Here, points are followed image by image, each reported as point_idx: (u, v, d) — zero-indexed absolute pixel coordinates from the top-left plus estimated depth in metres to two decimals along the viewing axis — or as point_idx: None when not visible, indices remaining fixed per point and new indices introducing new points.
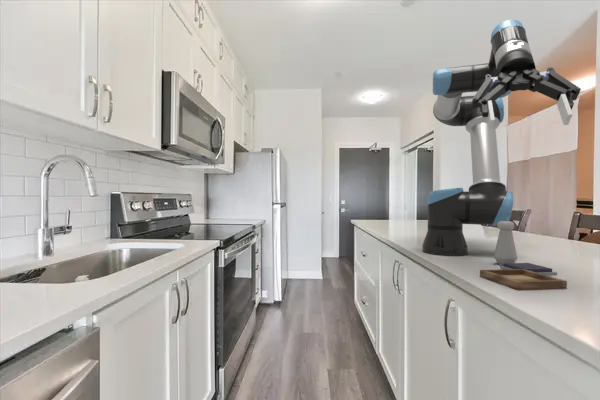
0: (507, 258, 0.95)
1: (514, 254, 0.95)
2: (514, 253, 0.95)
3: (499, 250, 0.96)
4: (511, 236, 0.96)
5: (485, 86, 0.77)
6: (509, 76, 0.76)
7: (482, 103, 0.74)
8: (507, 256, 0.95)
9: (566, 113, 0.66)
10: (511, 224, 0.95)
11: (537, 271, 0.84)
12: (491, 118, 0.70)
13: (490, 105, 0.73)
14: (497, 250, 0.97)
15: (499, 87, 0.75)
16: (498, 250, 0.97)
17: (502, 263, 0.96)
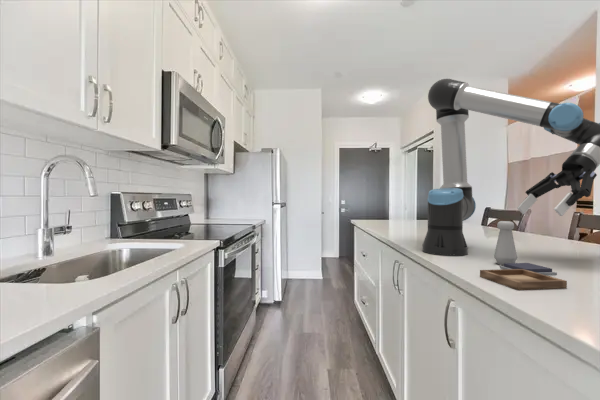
0: (507, 258, 0.95)
1: (514, 254, 0.95)
2: (514, 253, 0.95)
3: (499, 250, 0.96)
4: (511, 236, 0.96)
5: None
6: (578, 182, 0.97)
7: (578, 197, 0.90)
8: (507, 256, 0.95)
9: (525, 211, 1.04)
10: (511, 224, 0.95)
11: (537, 271, 0.84)
12: None
13: None
14: (497, 250, 0.97)
15: None
16: (498, 250, 0.97)
17: (502, 263, 0.96)
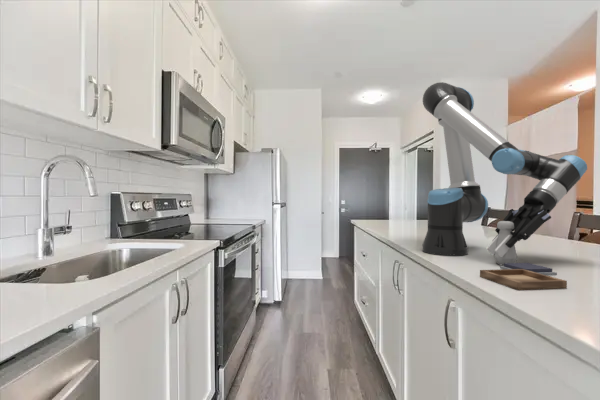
0: (507, 258, 0.95)
1: (514, 254, 0.95)
2: (514, 253, 0.95)
3: None
4: None
5: None
6: None
7: None
8: (507, 256, 0.95)
9: (494, 251, 0.98)
10: (511, 224, 0.95)
11: (537, 271, 0.84)
12: None
13: None
14: None
15: None
16: None
17: (502, 263, 0.96)
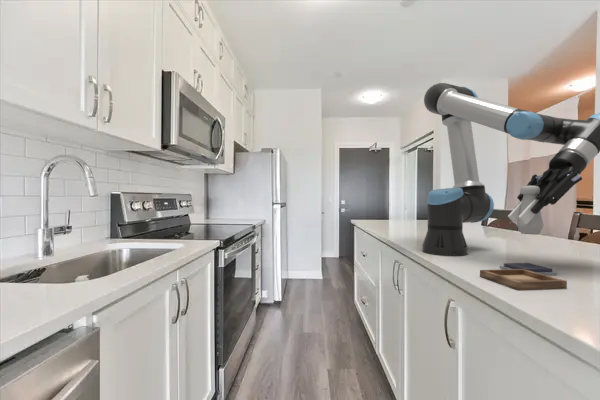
0: (532, 226, 0.85)
1: (540, 221, 0.85)
2: (540, 220, 0.85)
3: None
4: None
5: None
6: None
7: None
8: (532, 224, 0.85)
9: (517, 220, 0.89)
10: (536, 188, 0.86)
11: (537, 271, 0.84)
12: None
13: None
14: None
15: None
16: None
17: (527, 232, 0.86)
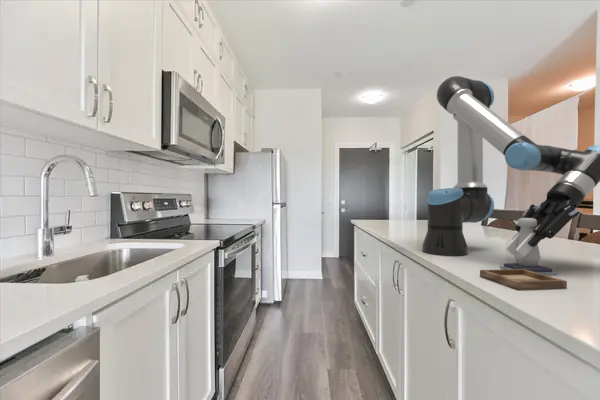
0: (530, 259, 0.86)
1: (537, 254, 0.86)
2: (537, 253, 0.86)
3: None
4: None
5: None
6: None
7: None
8: (529, 257, 0.86)
9: (514, 251, 0.89)
10: (534, 221, 0.86)
11: (537, 271, 0.84)
12: None
13: None
14: None
15: None
16: None
17: (524, 264, 0.87)
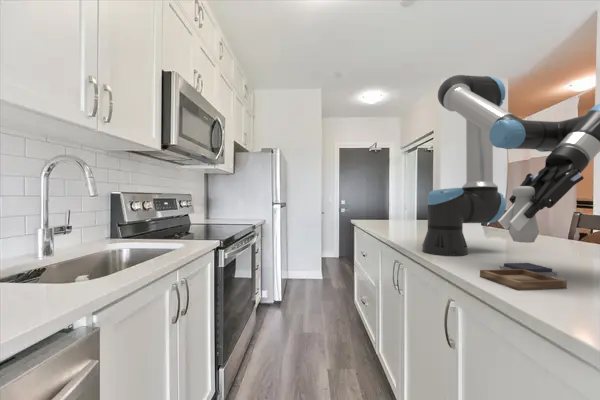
0: (526, 233, 0.74)
1: (535, 227, 0.74)
2: (535, 226, 0.74)
3: None
4: None
5: None
6: None
7: (539, 208, 0.73)
8: (526, 230, 0.74)
9: (508, 225, 0.77)
10: (531, 189, 0.74)
11: (537, 271, 0.84)
12: None
13: None
14: None
15: None
16: None
17: (520, 239, 0.75)
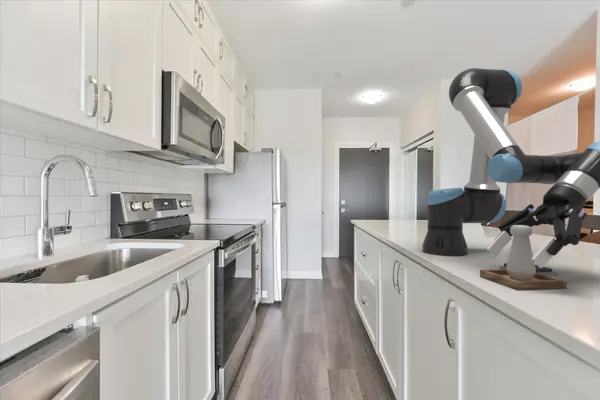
0: (523, 272, 0.74)
1: (532, 267, 0.75)
2: (532, 266, 0.75)
3: (513, 262, 0.76)
4: (528, 244, 0.75)
5: None
6: None
7: None
8: (523, 270, 0.74)
9: (496, 252, 0.83)
10: (528, 229, 0.75)
11: (537, 271, 0.84)
12: None
13: None
14: (510, 262, 0.77)
15: None
16: (511, 262, 0.76)
17: (517, 278, 0.76)
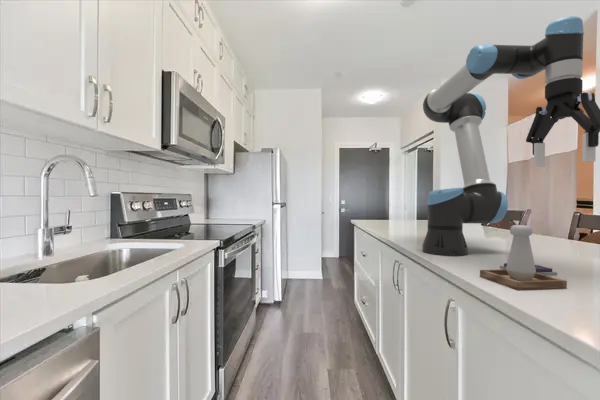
0: (523, 272, 0.74)
1: (532, 267, 0.75)
2: (532, 266, 0.75)
3: (513, 262, 0.76)
4: (528, 244, 0.75)
5: None
6: None
7: None
8: (523, 270, 0.74)
9: (543, 163, 0.90)
10: (528, 229, 0.75)
11: (537, 271, 0.84)
12: None
13: None
14: (510, 262, 0.77)
15: None
16: (511, 262, 0.76)
17: (517, 278, 0.76)
